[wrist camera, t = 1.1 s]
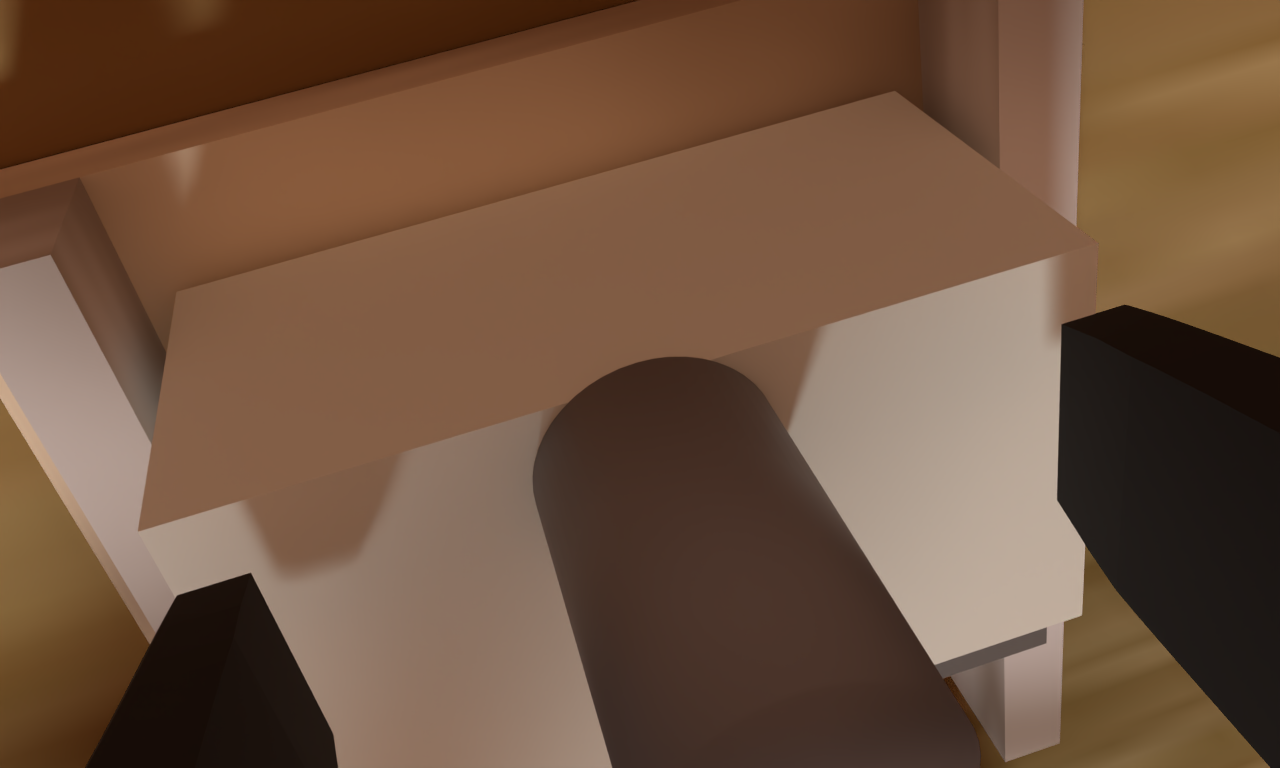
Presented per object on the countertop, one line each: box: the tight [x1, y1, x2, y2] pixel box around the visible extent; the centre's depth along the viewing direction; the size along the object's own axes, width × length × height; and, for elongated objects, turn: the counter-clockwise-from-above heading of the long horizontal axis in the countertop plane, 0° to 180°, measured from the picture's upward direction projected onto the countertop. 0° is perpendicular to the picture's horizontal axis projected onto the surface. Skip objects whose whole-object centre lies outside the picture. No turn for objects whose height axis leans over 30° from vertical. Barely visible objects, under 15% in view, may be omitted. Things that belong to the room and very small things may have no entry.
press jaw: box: [138, 91, 1098, 768], centre depth 12 cm, size 6×9×8 cm, turn 100°
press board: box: [0, 0, 1083, 762], centre depth 17 cm, size 13×14×3 cm
